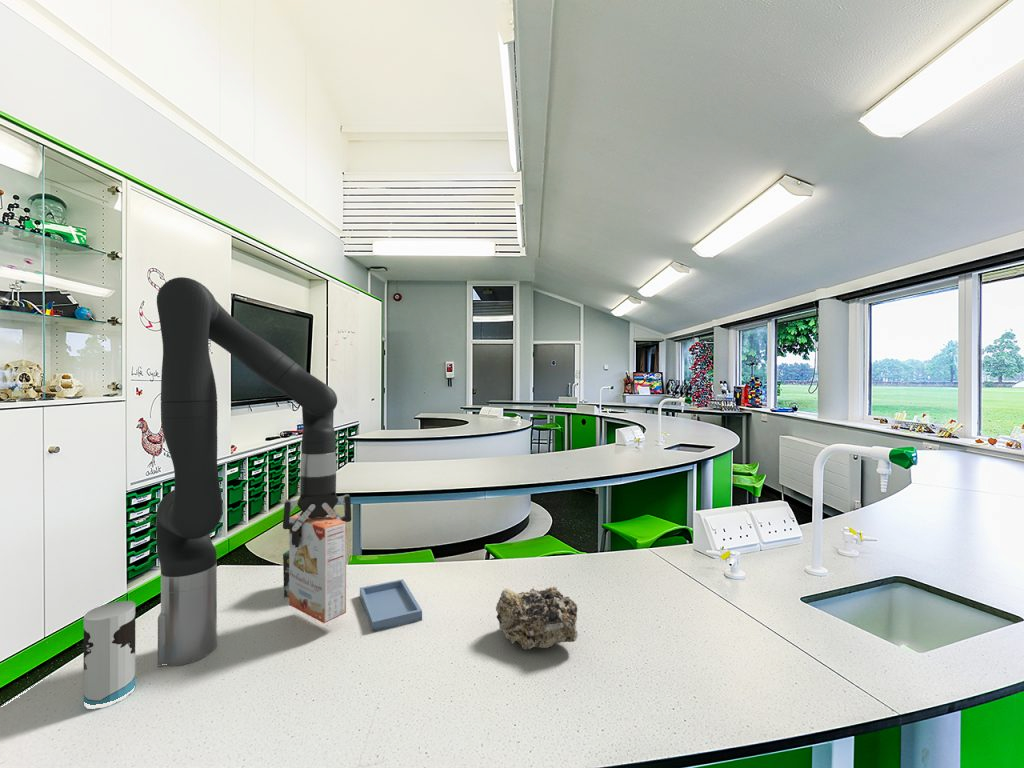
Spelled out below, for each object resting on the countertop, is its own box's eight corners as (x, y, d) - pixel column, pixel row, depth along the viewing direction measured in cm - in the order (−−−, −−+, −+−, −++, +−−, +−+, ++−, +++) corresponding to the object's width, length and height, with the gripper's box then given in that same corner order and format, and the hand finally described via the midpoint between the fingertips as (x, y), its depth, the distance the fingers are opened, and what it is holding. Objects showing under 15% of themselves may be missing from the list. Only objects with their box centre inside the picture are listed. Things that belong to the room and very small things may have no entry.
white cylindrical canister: (144, 681, 82) (144, 599, 82) (115, 708, 75) (115, 619, 75) (104, 684, 81) (104, 601, 81) (72, 711, 74) (72, 621, 74)
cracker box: (286, 606, 103) (287, 516, 103) (311, 596, 108) (312, 510, 108) (322, 625, 95) (323, 527, 95) (347, 613, 100) (348, 520, 100)
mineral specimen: (576, 663, 87) (576, 612, 87) (488, 652, 91) (488, 603, 91) (580, 621, 102) (580, 578, 102) (504, 613, 106) (504, 571, 106)
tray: (372, 632, 98) (372, 622, 98) (359, 596, 115) (359, 587, 115) (422, 620, 103) (422, 610, 103) (403, 587, 120) (403, 579, 120)
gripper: (283, 477, 95) (282, 554, 95) (353, 472, 101) (352, 544, 101) (283, 471, 102) (282, 543, 102) (349, 467, 108) (348, 534, 108)
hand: (317, 543), depth 101 cm, fingers closed on cracker box, 8 cm apart
